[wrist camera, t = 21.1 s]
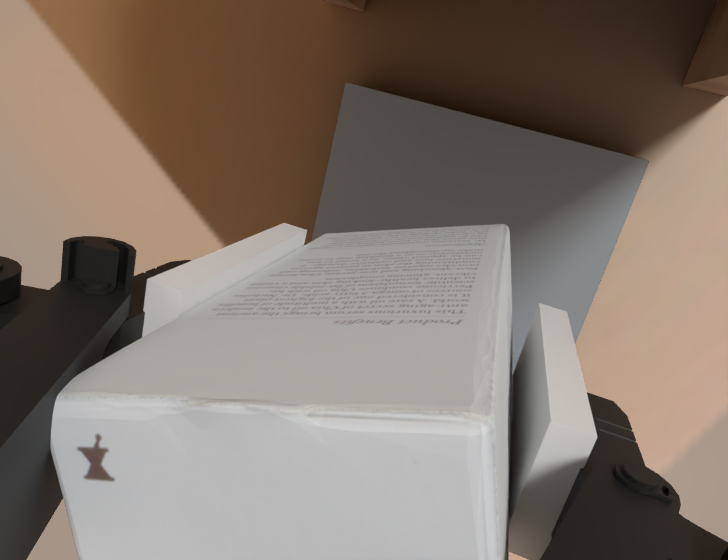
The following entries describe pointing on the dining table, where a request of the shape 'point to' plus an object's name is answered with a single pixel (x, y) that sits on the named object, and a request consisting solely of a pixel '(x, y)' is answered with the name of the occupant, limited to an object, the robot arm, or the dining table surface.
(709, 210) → the dining table surface
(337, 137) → the pull-out tray
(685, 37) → the dining table surface
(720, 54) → the walnut shelf
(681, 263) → the dining table surface
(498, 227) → the skincare box
